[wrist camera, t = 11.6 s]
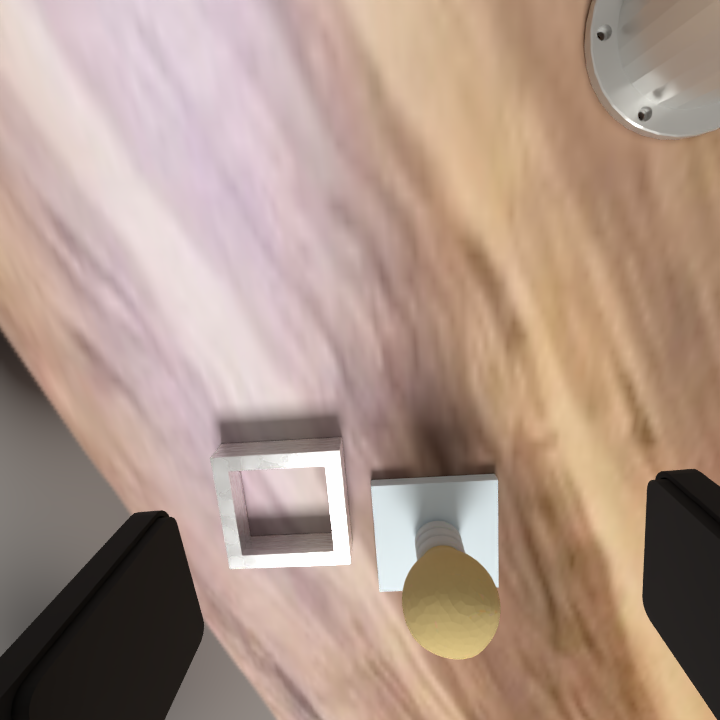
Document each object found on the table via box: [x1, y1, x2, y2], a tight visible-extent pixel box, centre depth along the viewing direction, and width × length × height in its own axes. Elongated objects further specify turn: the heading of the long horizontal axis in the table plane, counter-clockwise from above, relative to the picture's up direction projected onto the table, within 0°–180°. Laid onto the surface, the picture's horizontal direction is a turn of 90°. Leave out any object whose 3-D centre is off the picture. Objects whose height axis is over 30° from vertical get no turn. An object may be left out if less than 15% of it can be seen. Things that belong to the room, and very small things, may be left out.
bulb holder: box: [210, 437, 352, 569], centre depth 36 cm, size 10×10×2 cm
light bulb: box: [402, 521, 500, 659], centre depth 31 cm, size 6×6×10 cm
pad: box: [371, 474, 498, 592], centre depth 37 cm, size 10×10×1 cm
